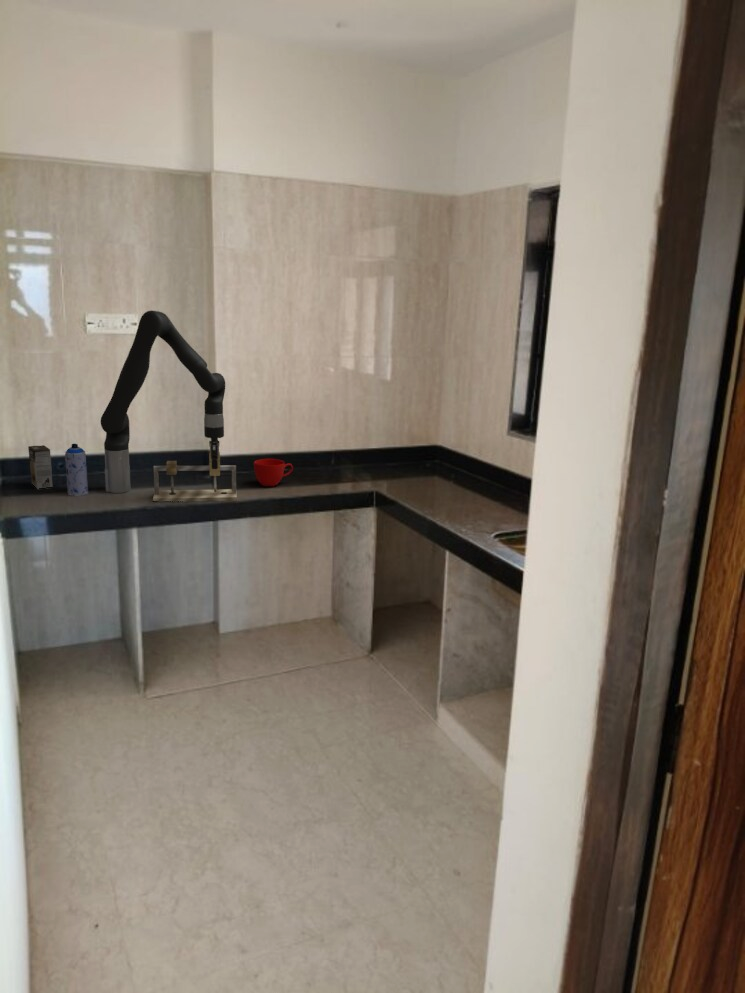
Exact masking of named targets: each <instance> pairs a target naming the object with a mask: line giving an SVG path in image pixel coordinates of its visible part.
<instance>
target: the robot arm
mask: <svg viewBox="0 0 745 993" xmlns="http://www.w3.org/2000/svg"><path fill="white" fill-rule="evenodd" d="M157 337H158V338H161V339H162V340H163V341H164V342H165V343H166V344H168V346H170V348H171V349H172V351H173V352H174V354H175V355H176V357H177V359H178V360H179V362H180V363H181V364H182V365H183V366H184V367H185V368H186V369H187V370H188V371H189V373H191V374H192V376H193V377H194V379H195V382H196V383H198V385H199V387H200V388H201V389H202V390H203V391H205V392H206V393H207V394H208V395H207V398H206V399H205V400H204V417H203V418H204V419H203V421H204V422H203V427H204V429H203V430H204V433H203V434H204V437H205V438H207V439H210V440H209V442H208V443H209V444H208V446H209V452H210V454H211V460H212V469H217V468H218V462H217V460H218V454H219V452H220V443H221V442H220V440H219V439H221V438H223V437H225V424H224V423H225V420H224V418H225V417H224V405H223V403H224V398H225V393H226V380H225V378H224V376H223V374H221V373H219V372H211V371H210V370H209V369H208V363H207V362H206V361H205V359H204V358H203V357H202V356H201V355H199V353H198V352H197V351H196V350H195V349H194V348H193V347H192V346H191V345H190V343H188V342H187V341H186V339H184V336H182V335H181V333H180V332H179V330H178V329H177V328H176V327H175V325H174V324H173V322H172V321H171V319H170V318H169V316H168V315H167V314H166V313H165V312H162V311H159V310H148V311H146V312H144V313H143V314H142V315H141V317H140V319H139V323H138V325H137V330H136V332H135V336H134V339H133V342H132V345H131V346H130V349H129V351H128V354H127V357H126V359H125V361H124V364H122V368H121V371H120V374H119V375H118V379H117V380H116V381H117V382H116V384H115V387H114V391H113V393H112V396H111V399H110V400H109V402H108V404H107V405H106V408H105V409H104V411H103V413H102V415H101V417H100V425H101V429H102V430H103V432H105V433H106V435H105V439H104V443H103V447H104V449H103V450H104V464H105V465H104V466H105V467H104V482H105V483H104V485H105V492H106V493H112V494H113V493H115V494H121V493H128V492H130V491H131V490H132V489H131V486H132V484H131V468H130V450H129V448H130V447H129V444H130V436H131V433H130V432H131V431H130V430H131V429H130V419H129V415H128V410H129V407H130V406H131V404H132V402H133V400H134V399H136V398H135V397H136V396H137V394H138V393H139V391H140V390H141V388H142V386H143V384H144V382H145V380H146V378H147V377H148V376H147V375H148V373H149V371H150V370H149V369H150V361H151V360H150V359H151V351H152V348H153V345H154V343H155V342H156V339H157ZM213 454H216V456H213Z"/></svg>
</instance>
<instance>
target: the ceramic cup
mask: <svg viewBox="0 0 745 993" xmlns="http://www.w3.org/2000/svg"><path fill="white" fill-rule="evenodd" d="M288 466H290V470H289V471H288V472H286V473H284V471H285V468H286V467H288ZM253 469H254V474H255V477H256V479H257V481H258V483H259V484H260V485H261V486H262V485H263V487H267V486H271V487H276V486H277V485H278V484H279V483H280V482H281V480H282V479H283V477H286V476H288V475H290V474H291V473H292V472H293V469H294V466H293V465H292V463H285V461H284V460H281V459H277V458H261V459H257V460H255V461H253ZM275 485H276V486H275Z"/></svg>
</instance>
